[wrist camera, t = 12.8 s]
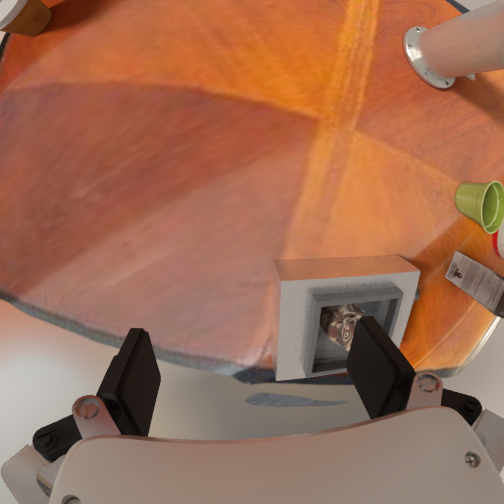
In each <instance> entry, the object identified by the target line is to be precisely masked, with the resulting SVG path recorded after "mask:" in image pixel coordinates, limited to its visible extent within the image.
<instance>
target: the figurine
mask: <svg viewBox="0 0 504 504" xmlns="http://www.w3.org/2000/svg"><path fill="white" fill-rule="evenodd" d="M360 317H365V316H364V314H363V312H362V311H361V309H360V307H359V305H358V303H355V304H346V305H336V306H326V307H321V314H320V322H319V324H320V326H321V328H322V329H323V330H324V332H325V333H326V334H327V336H328V337H329V338H330V339H331V340H332V341H333V342H335V343H336V344H339V345H344V346H345V349H346V351H347V352H348V353H349V350H350V346H351V342H352V338H353V333H354V329H355V324H356V321H358V320H359V319H360Z"/></svg>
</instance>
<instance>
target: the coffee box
mask: <svg viewBox="0 0 504 504" xmlns="http://www.w3.org/2000/svg"><path fill="white" fill-rule="evenodd" d="M445 278H446V279H448V280H449V281H451V282H452V283H453V284H455V285H456V286H458V287H459V288H460V289H462V290H463V291H464V292H466V293H467V294H468V295H470V296H471V297H472V298H474V299H475V300H476V301H477V302H479V303H480V304H481V305H483V306H484V307H485V308H486V309H488V310H489V311H490V312H491V313H493V314H494V315H496V316H498V317H501V318H504V277H502V276H500V275H499V274H497V273H496V272H494V271H492V270H491V269H489V268H487V267H486V266H484V265H482V264H480V263H479V262H477V261H475V260H473V259H471V258H470V257H468V256H466V255H464V254H462V253H460V252H458V251H455V254H454V256H453V259H452V261H451V263H450V266H449V268H448V270H447V273H446V275H445Z"/></svg>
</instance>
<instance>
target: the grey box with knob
mask: <svg viewBox="0 0 504 504" xmlns="http://www.w3.org/2000/svg"><path fill="white" fill-rule="evenodd" d="M419 276H420V270H419V269H417V268H416V267H415V266H413V265H412V264H410V263H409V262H407V261H406V260H405V259H403V258H402V257H400V256H399V255H388V256H368V257H348V258H327V259H304V260H281V261H273V290H272V328H271V358H272V363H273V368H274V373H275V378H276V381H280V380H290V379H299V378H307V377H314V376H321V375H328V374H334V373H340V372H346V371H347V368H346V362H347V358H348V354H349V353H348V352H347V351H346V349H345V346H344V345H339V344H336V343H335V342H333V341H332V340H331V339H330V338H329V337H328V336H327V334H326V333H325V332H324V330H323V329H322V328H321V326H320V324H319V322H320V314H321V307H326V306H336V305H346V304H355V303H358V305H359V307H360V309H361V311H362V312H363V314H364V316H373V317H374V318H375V319H376V321H377V322H378V323H379V324H380V326H381V327H382V328H383V329H384V331H385V332H386V333H387V334H388V336H389V337H390V338H391V340H392V341H393V342H394V343H395V345H396V346H397V347H398V349H399V346H400V343H401V341H402V338H403V335H404V331H405V328H406V325H407V322H408V318H409V315H410V312H411V308H412V304H413V302H416V301H418V299H419V295H420V293H419V288H418V287H417V285H418V280H419Z"/></svg>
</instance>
